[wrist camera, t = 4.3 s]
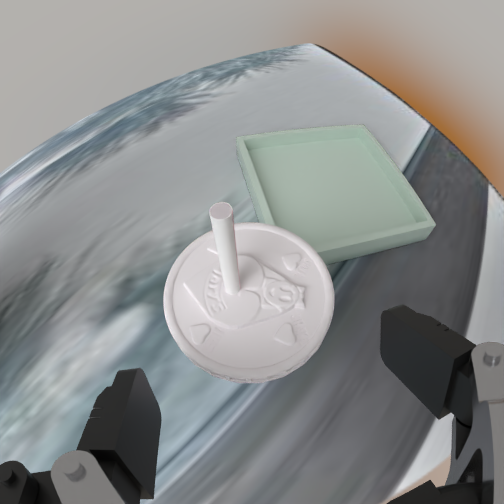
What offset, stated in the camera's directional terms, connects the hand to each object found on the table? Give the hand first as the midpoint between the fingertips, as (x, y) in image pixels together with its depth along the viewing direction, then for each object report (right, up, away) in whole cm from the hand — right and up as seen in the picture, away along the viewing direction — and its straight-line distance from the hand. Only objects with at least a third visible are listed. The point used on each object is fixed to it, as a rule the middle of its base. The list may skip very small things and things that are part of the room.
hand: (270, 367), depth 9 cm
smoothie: (-1, -3, +10) cm, 11 cm away
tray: (+6, +9, +17) cm, 20 cm away
